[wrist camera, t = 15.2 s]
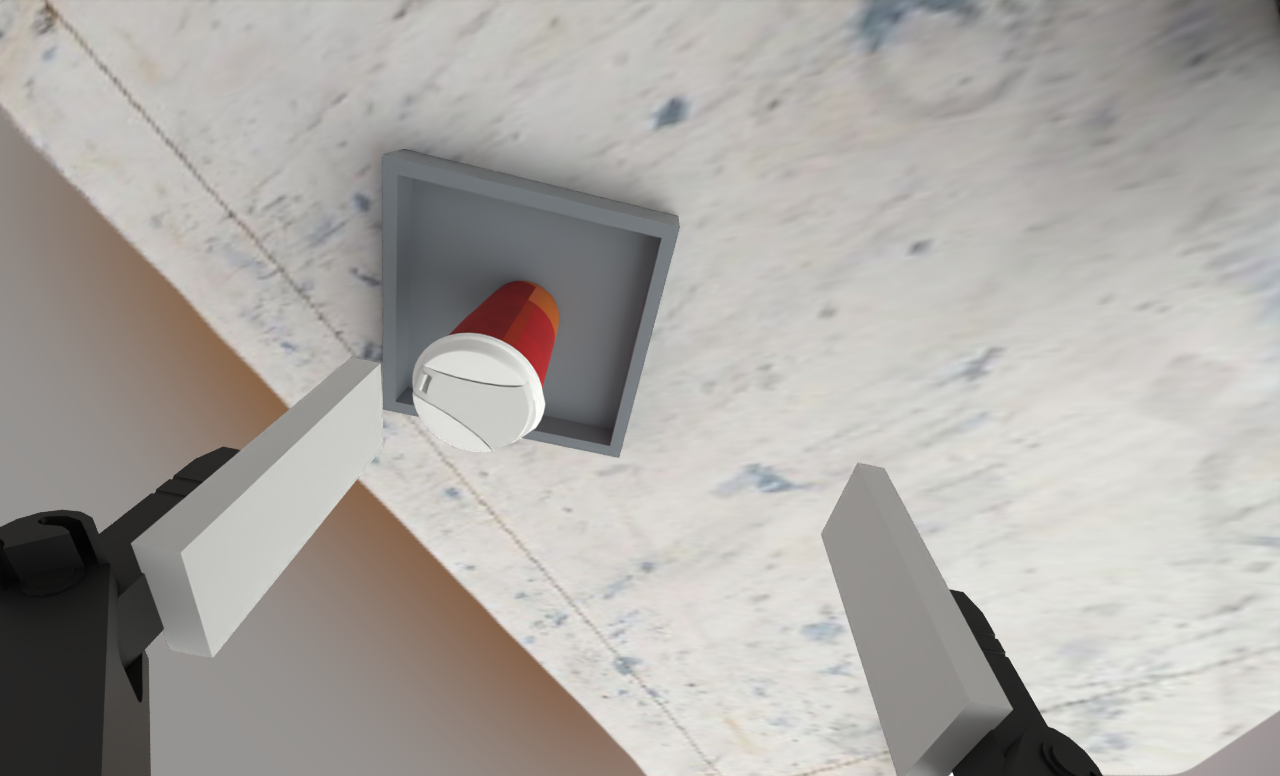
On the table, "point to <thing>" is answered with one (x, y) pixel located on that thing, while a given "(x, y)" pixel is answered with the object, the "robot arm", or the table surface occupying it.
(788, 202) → the table surface
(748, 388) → the table surface
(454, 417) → the paper cup
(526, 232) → the tray
